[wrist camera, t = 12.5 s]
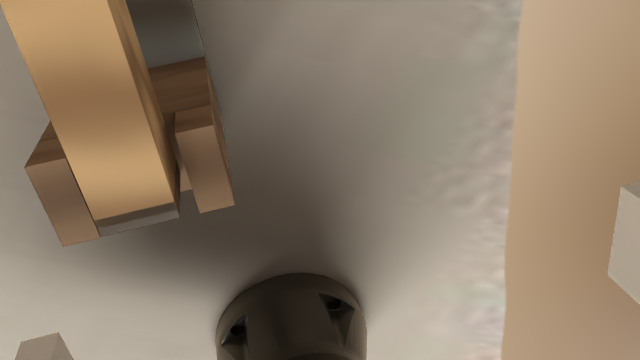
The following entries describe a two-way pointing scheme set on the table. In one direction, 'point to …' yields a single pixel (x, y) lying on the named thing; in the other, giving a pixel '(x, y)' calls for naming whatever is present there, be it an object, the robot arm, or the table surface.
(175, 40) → the wooden u-shaped stand
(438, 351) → the table surface
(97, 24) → the bed rail
